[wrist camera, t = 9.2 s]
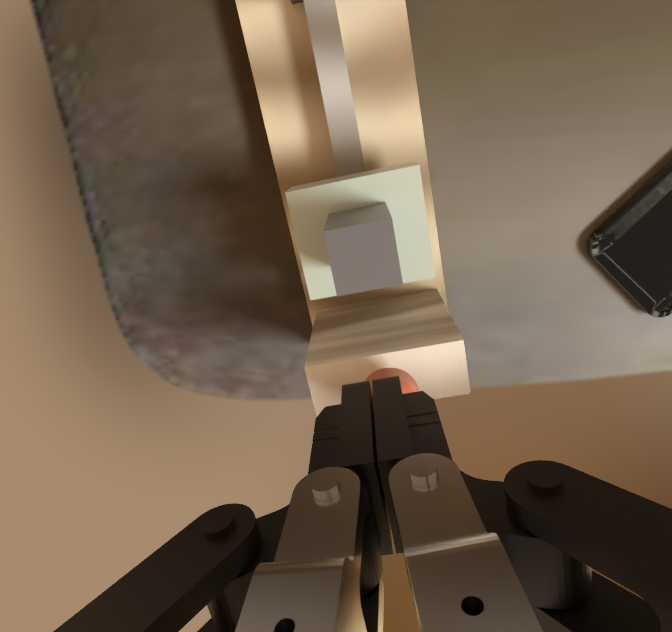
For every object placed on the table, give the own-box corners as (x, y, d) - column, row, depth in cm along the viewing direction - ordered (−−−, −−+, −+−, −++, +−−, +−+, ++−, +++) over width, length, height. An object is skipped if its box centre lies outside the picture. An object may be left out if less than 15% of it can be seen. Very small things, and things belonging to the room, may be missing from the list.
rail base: (238, -7, 29) (180, -74, 19) (395, -47, 28) (415, -138, 18) (320, 343, 36) (307, 419, 26) (446, 321, 35) (480, 391, 26)
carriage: (291, 186, 29) (269, 206, 21) (413, 161, 28) (434, 172, 21) (314, 285, 31) (301, 334, 23) (428, 263, 30) (452, 307, 23)
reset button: (355, 372, 24) (355, 397, 22) (413, 362, 24) (420, 387, 21) (366, 423, 25) (367, 452, 23) (422, 414, 24) (429, 442, 22)
